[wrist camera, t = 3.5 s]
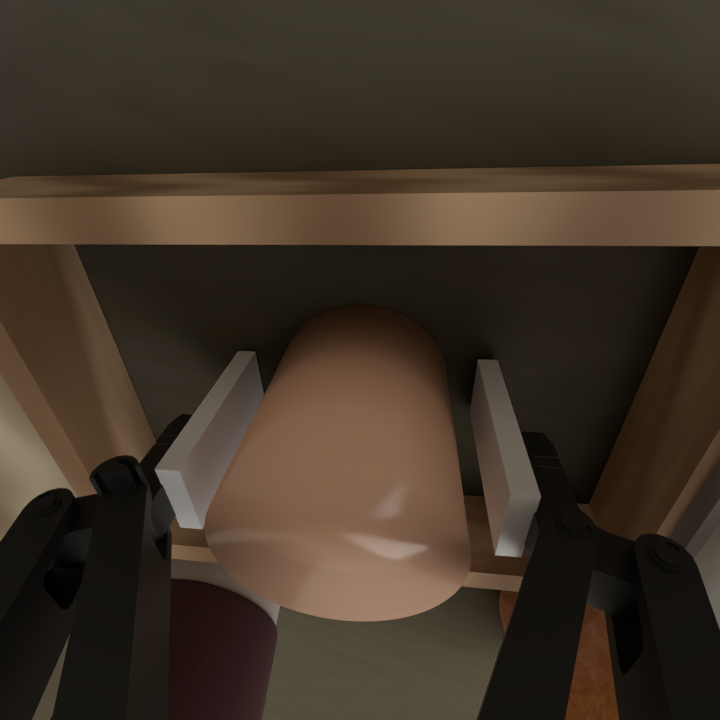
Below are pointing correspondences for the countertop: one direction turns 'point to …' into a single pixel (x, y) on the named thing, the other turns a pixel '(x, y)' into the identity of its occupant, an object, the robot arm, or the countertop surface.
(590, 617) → the bread
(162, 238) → the cold frame
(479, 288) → the countertop surface
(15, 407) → the board
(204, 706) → the coffee cup
